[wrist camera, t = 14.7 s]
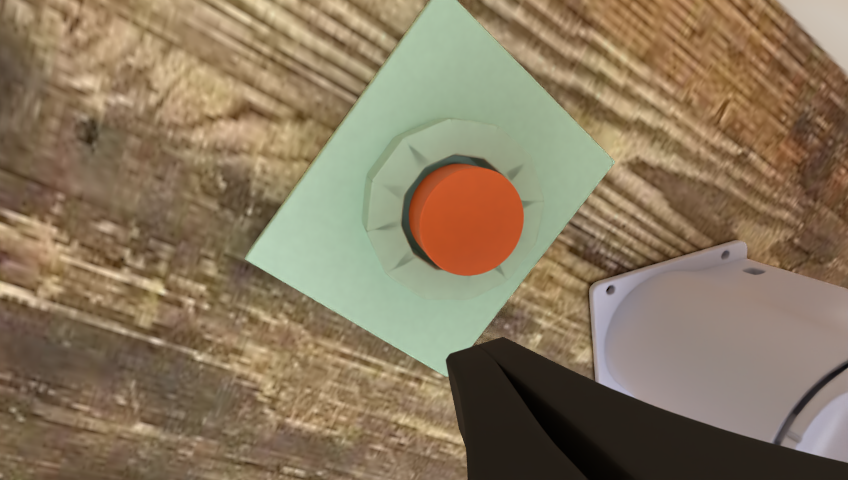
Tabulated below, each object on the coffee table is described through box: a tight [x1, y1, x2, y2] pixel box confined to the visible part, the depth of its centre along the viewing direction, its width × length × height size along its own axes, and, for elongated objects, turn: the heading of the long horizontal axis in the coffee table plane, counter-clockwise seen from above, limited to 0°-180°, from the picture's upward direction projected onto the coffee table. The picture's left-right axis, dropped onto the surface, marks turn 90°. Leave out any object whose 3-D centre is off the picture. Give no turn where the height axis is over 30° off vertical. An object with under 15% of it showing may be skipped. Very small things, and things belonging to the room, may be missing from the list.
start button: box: [409, 163, 524, 276], centre depth 14 cm, size 4×4×2 cm
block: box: [245, 0, 615, 377], centre depth 16 cm, size 12×10×4 cm
